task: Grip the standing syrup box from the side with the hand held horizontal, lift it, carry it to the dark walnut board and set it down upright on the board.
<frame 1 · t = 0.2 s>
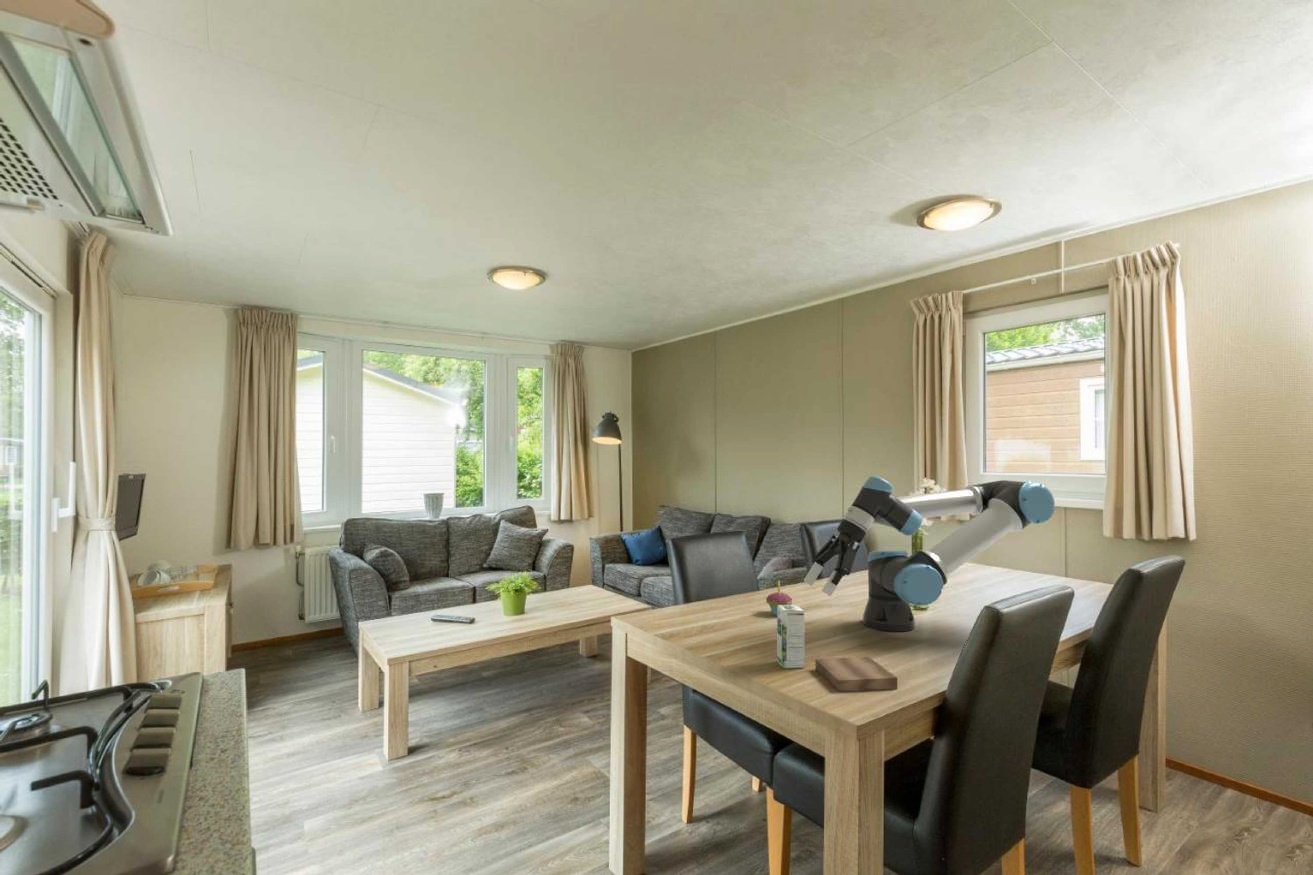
hand: (816, 588, 172), 15 cm above the table, tool tilted 35°, fingers open, 13 cm apart
syrup box: (790, 665, 154), on the table
cupcake: (779, 614, 201), on the table
walnut board: (854, 678, 145), on the table
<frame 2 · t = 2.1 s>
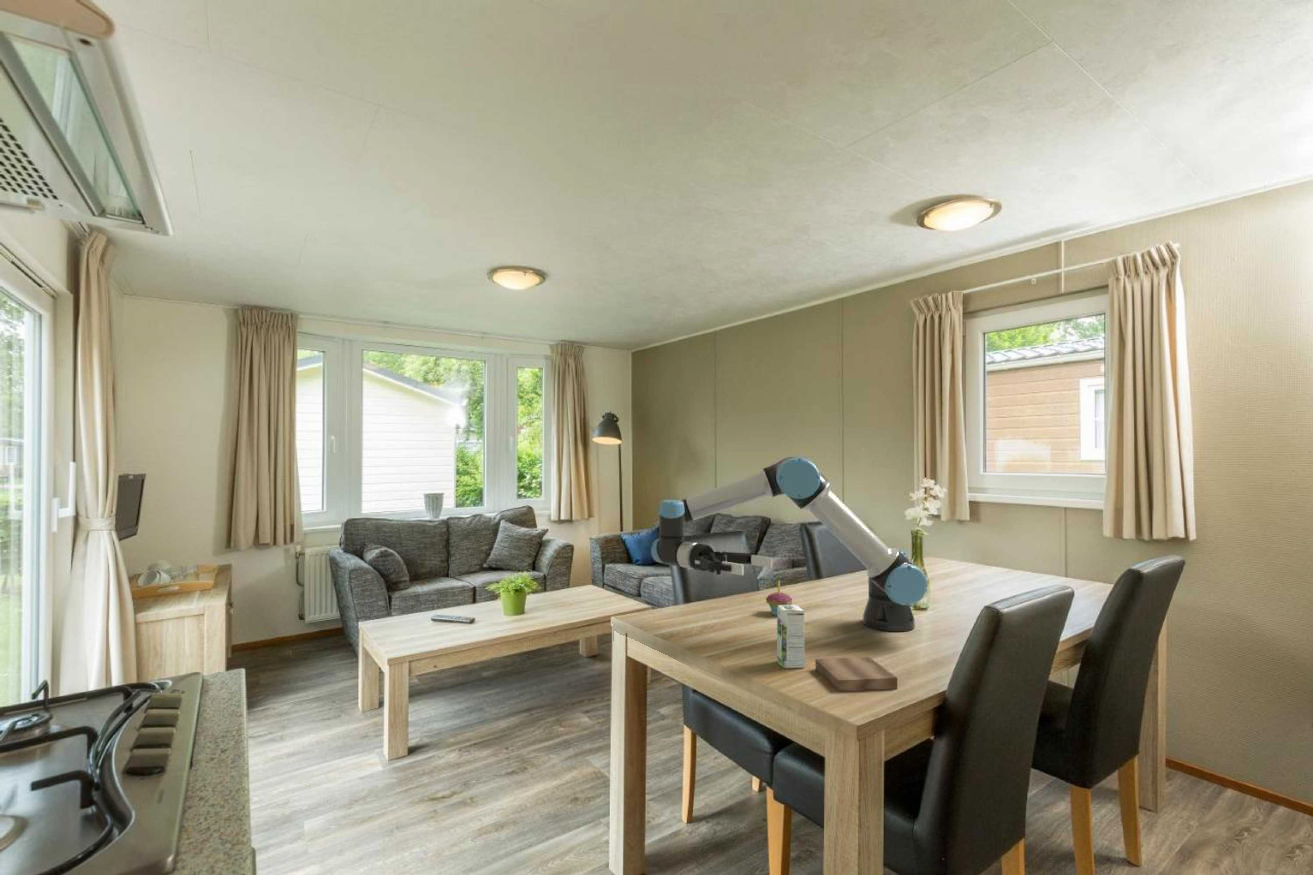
hand: (757, 566, 161), 24 cm above the table, tool horizontal, fingers open, 13 cm apart
nothing on the table moved.
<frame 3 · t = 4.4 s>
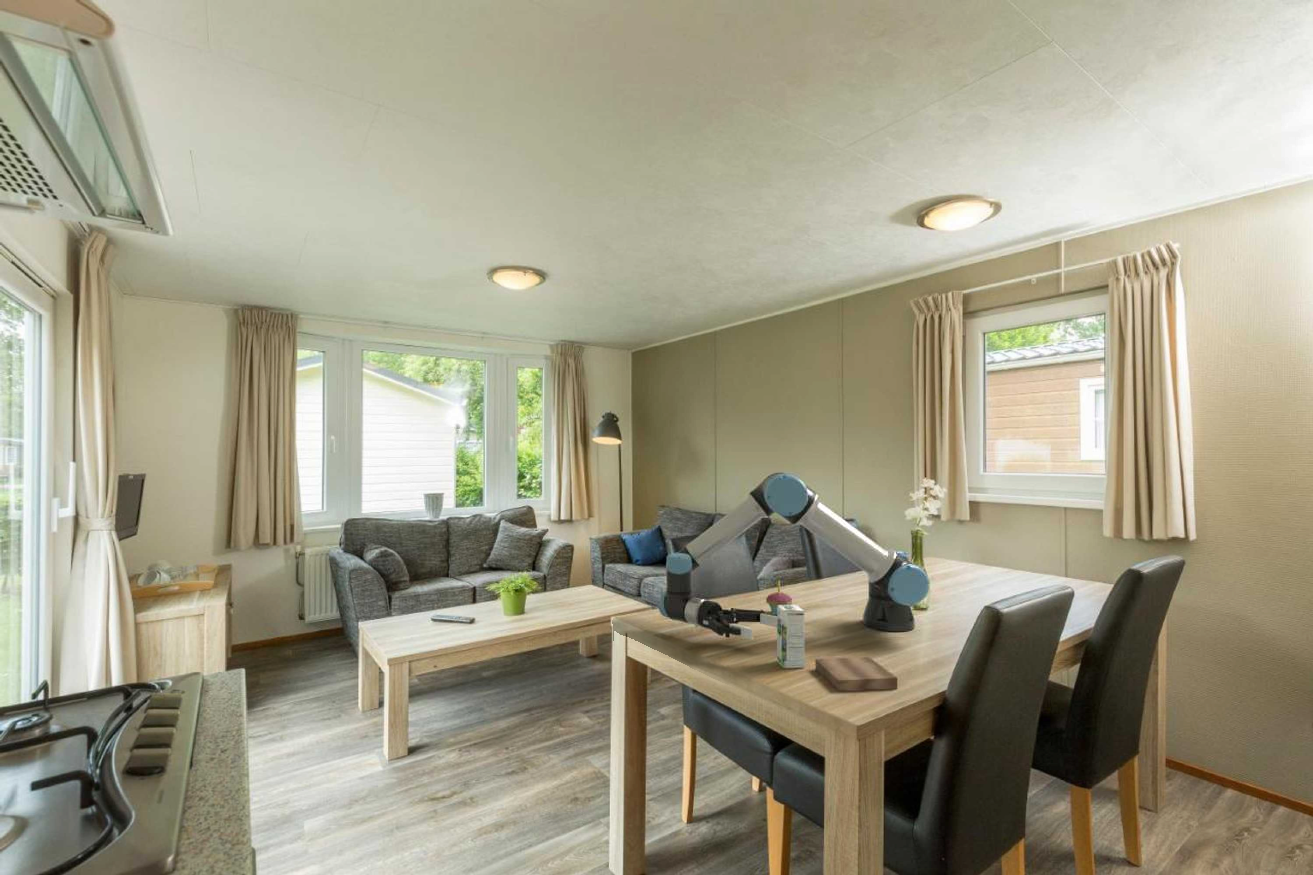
hand: (767, 628, 159), 8 cm above the table, tool horizontal, fingers open, 13 cm apart
nothing on the table moved.
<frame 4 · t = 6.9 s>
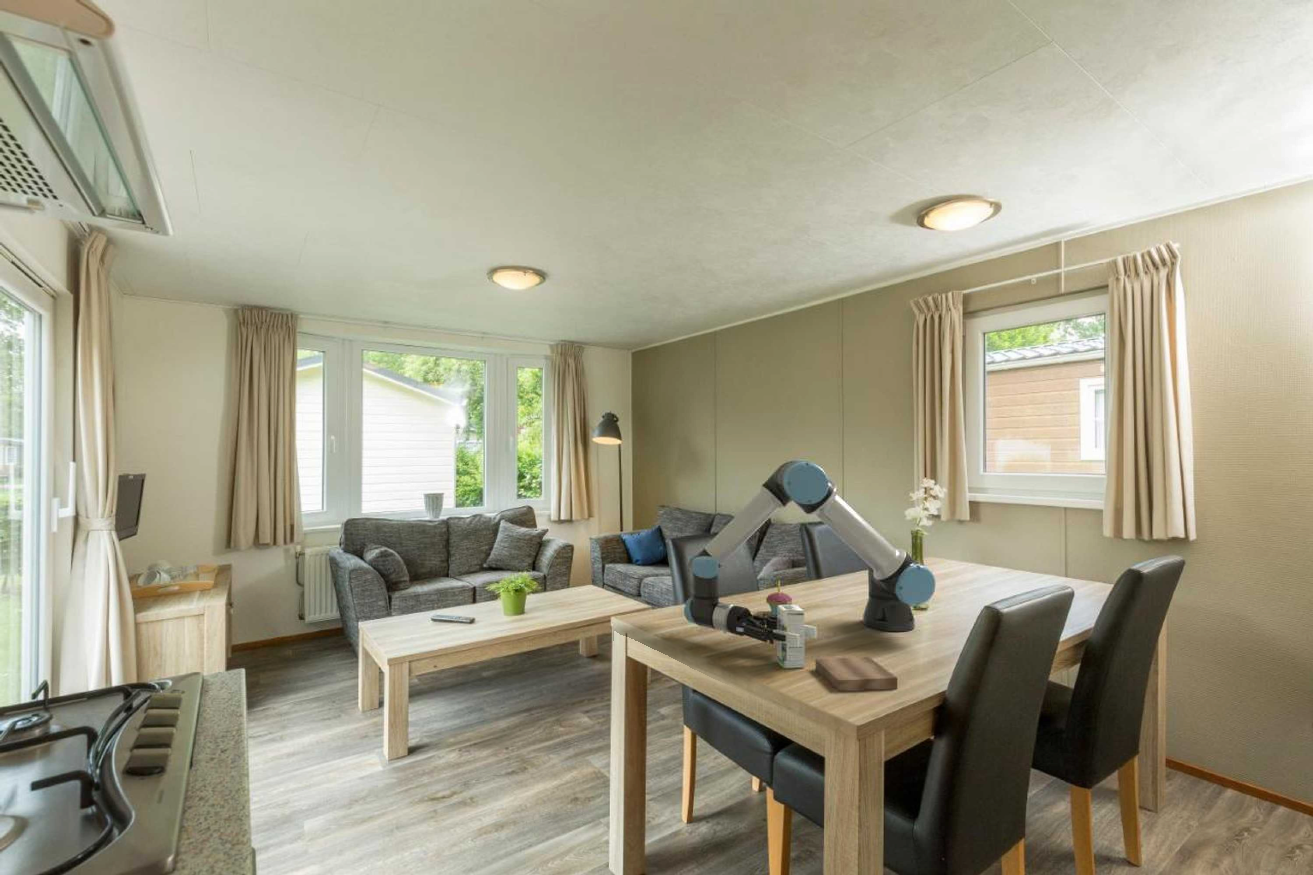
hand: (807, 636, 151), 8 cm above the table, tool horizontal, fingers closed on syrup box, 8 cm apart
syrup box: (790, 665, 154), on the table, touching gripper
everything else where it was.
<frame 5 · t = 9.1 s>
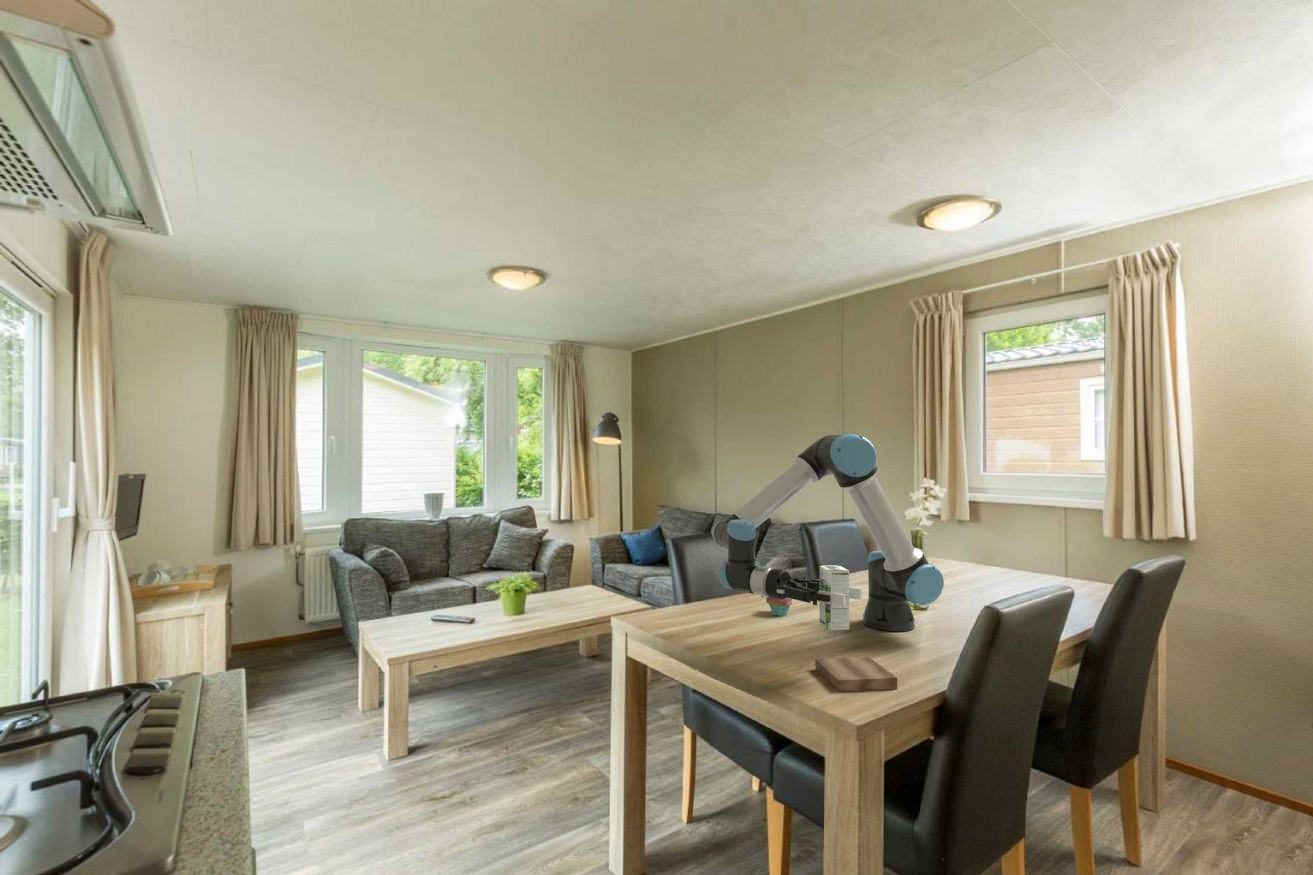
hand: (852, 597, 144), 20 cm above the table, tool horizontal, fingers closed on syrup box, 8 cm apart
syrup box: (834, 627, 147), point 11 cm above the table, touching gripper
everything else where it was.
when the fingers open (12 cm above the table, at t = 11.3 s): syrup box drops 1 cm, resting on walnut board.
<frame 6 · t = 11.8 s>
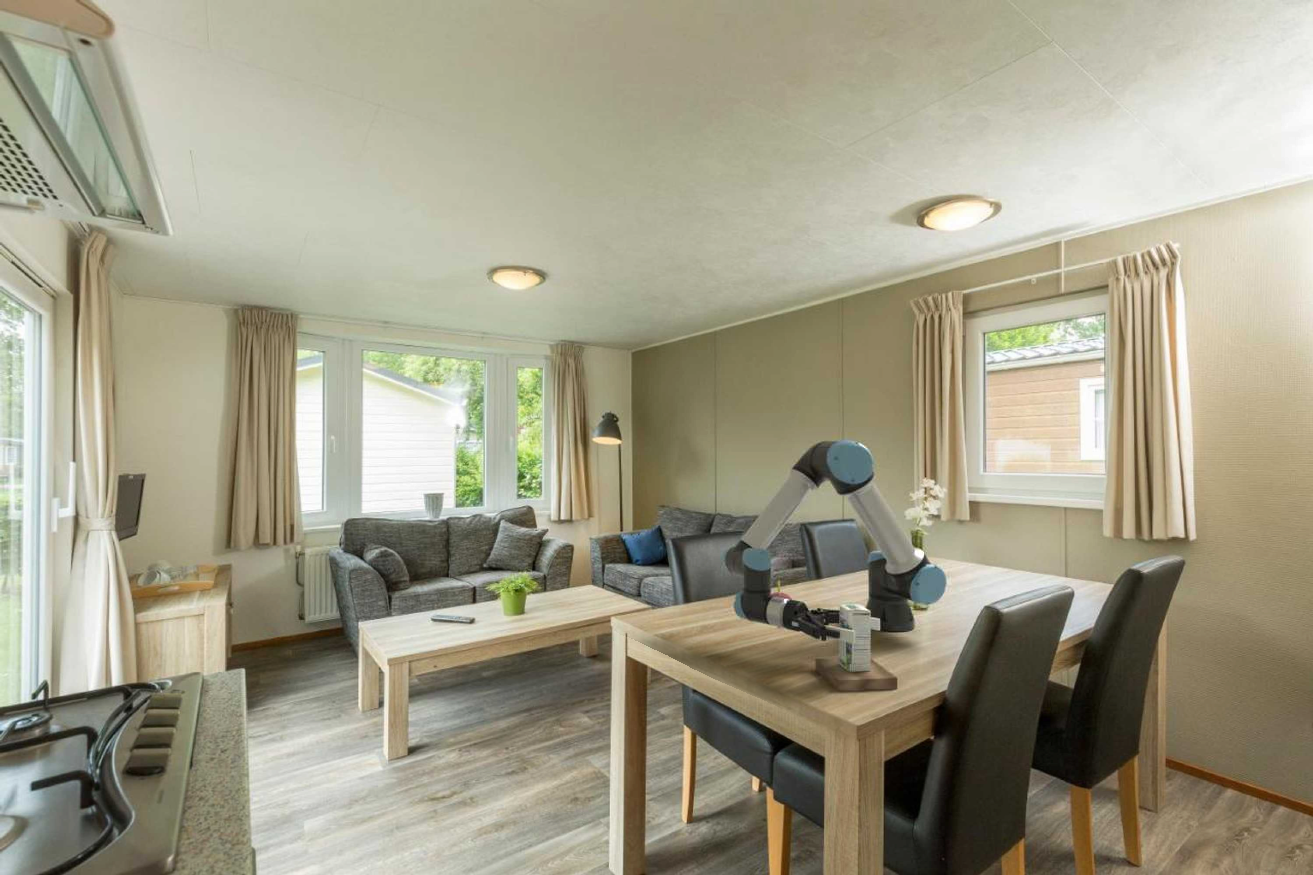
hand: (867, 630, 142), 12 cm above the table, tool horizontal, fingers open, 13 cm apart
syrup box: (854, 668, 145), point 2 cm above the table, touching walnut board
everything else where it was.
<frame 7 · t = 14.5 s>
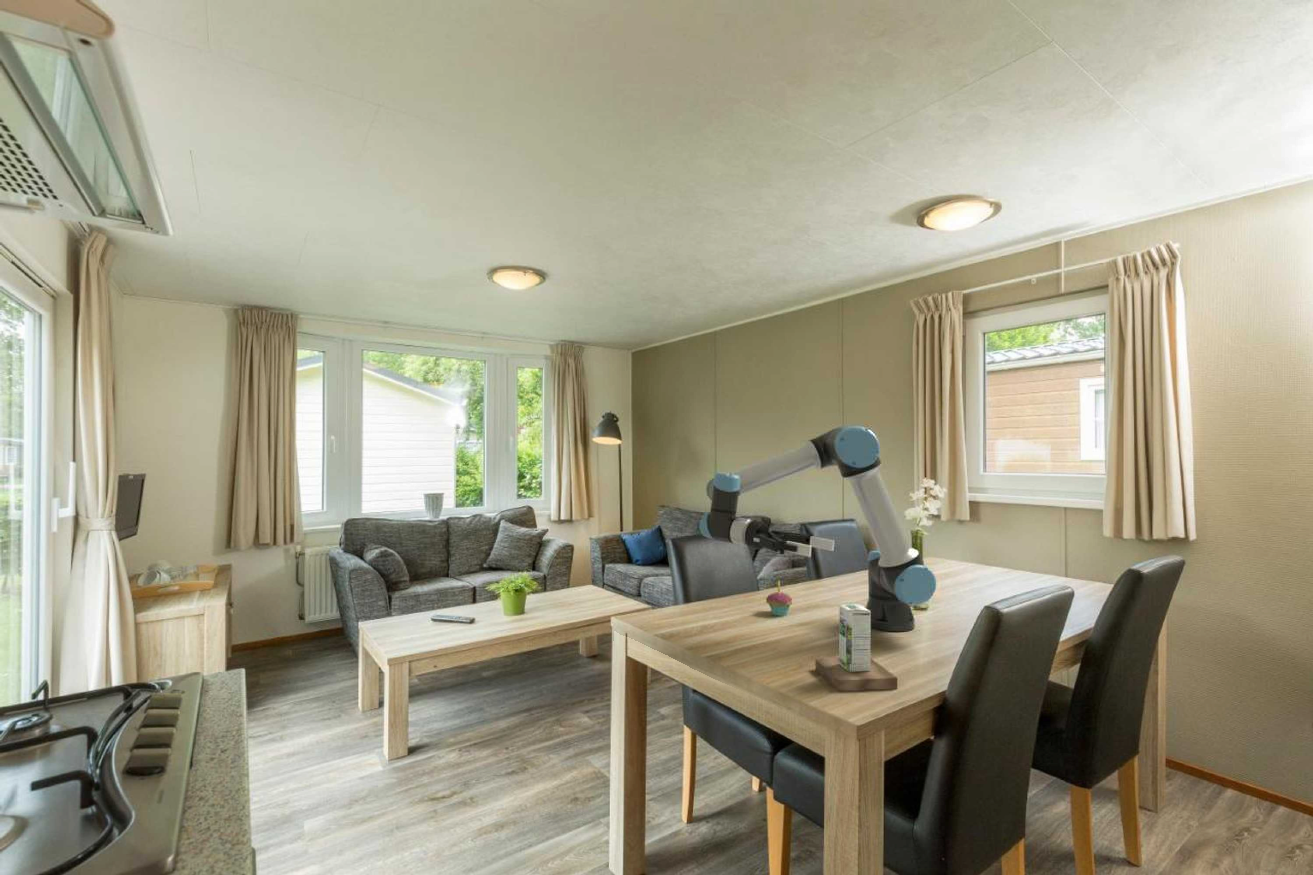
hand: (822, 548, 154), 30 cm above the table, tool horizontal, fingers open, 13 cm apart
nothing on the table moved.
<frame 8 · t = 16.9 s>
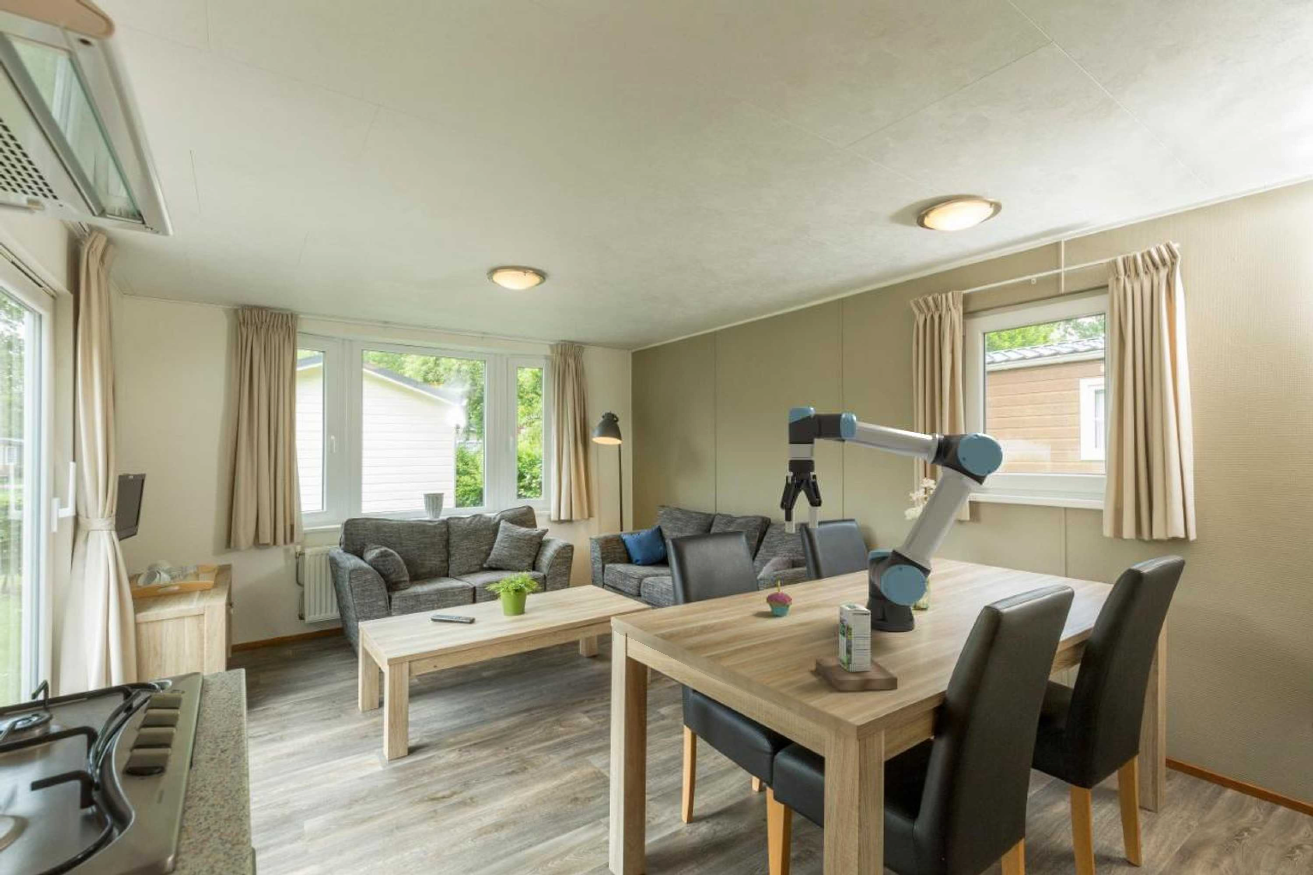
hand: (801, 530, 180), 31 cm above the table, tool pointing down, fingers open, 13 cm apart
nothing on the table moved.
at the end: syrup box inside the target area on the walnut board (0.2 cm from its centre), point 2.3 cm above the walnut board's base; syrup box tilted 0°; the gripper is holding nothing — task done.
